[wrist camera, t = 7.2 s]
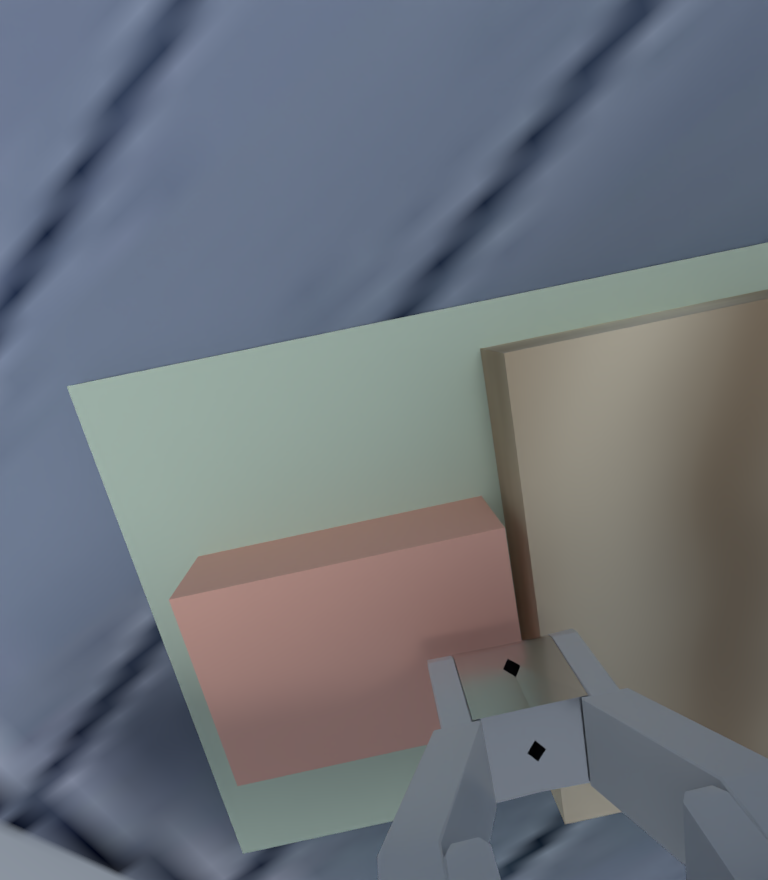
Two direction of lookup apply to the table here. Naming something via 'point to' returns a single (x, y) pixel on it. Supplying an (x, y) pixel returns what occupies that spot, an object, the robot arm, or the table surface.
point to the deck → (645, 506)
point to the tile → (342, 633)
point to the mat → (333, 471)
